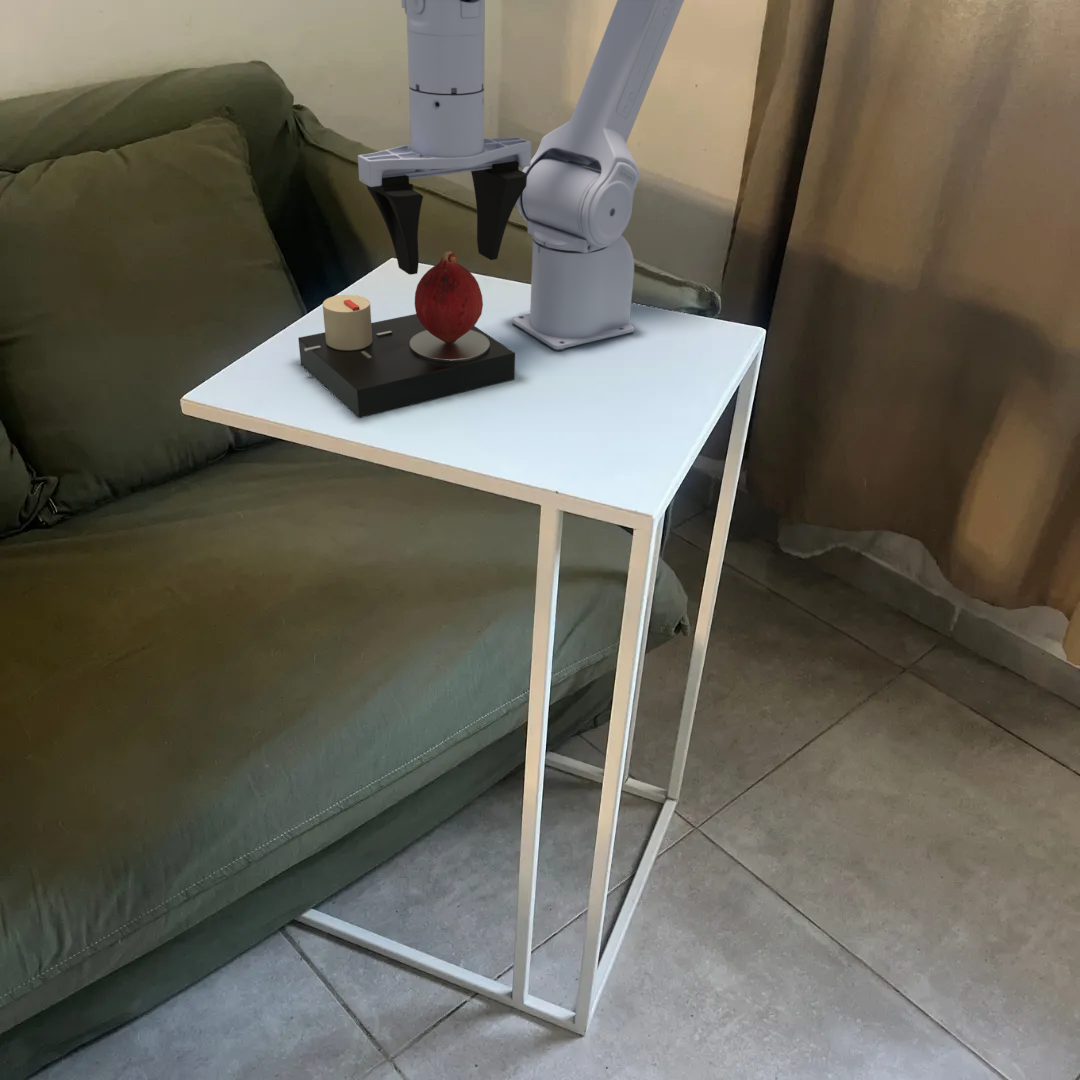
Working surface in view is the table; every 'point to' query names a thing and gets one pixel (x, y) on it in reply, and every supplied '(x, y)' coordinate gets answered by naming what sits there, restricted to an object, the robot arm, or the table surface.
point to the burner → (450, 347)
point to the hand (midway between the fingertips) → (448, 263)
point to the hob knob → (347, 322)
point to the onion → (448, 299)
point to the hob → (398, 368)
